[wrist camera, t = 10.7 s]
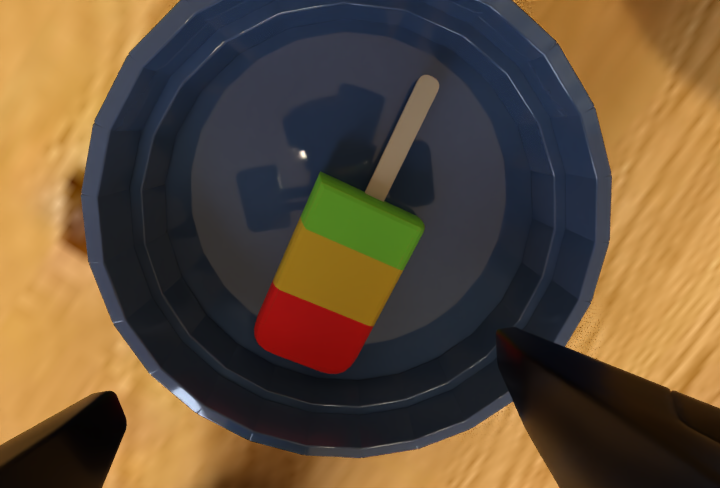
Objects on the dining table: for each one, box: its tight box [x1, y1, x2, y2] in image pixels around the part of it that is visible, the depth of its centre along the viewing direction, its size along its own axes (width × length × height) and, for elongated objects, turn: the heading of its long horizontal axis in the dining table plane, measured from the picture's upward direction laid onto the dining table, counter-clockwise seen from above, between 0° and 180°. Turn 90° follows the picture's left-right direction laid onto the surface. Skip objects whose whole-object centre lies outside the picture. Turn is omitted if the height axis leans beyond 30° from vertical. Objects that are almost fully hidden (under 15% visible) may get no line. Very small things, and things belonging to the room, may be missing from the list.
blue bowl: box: [81, 0, 612, 458], centre depth 17 cm, size 20×20×5 cm
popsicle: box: [254, 75, 439, 374], centre depth 18 cm, size 6×15×2 cm, turn 155°
